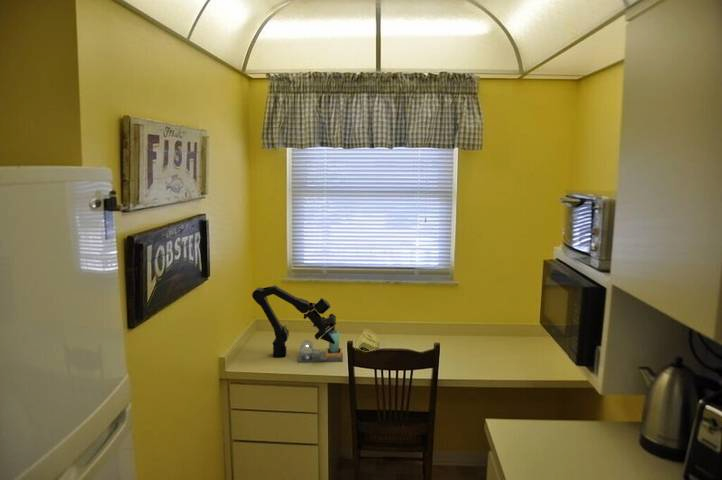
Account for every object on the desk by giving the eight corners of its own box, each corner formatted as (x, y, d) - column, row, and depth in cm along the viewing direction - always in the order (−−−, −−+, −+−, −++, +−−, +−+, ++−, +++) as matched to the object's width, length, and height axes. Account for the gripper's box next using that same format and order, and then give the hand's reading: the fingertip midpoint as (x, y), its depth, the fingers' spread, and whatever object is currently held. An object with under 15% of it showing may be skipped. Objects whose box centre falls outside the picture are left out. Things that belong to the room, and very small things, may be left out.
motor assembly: (298, 362, 267) (298, 346, 266) (299, 355, 278) (299, 339, 277) (342, 361, 268) (342, 346, 267) (342, 354, 279) (342, 339, 278)
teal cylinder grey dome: (328, 355, 271) (328, 332, 269) (329, 351, 276) (329, 329, 274) (338, 355, 271) (338, 332, 269) (338, 351, 276) (338, 329, 274)
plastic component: (377, 348, 282) (360, 340, 282) (371, 359, 284) (355, 351, 283) (378, 334, 301) (363, 327, 301) (373, 345, 303) (358, 337, 303)
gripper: (320, 314, 263) (340, 337, 261) (333, 305, 280) (352, 327, 278) (306, 328, 266) (326, 351, 264) (319, 318, 284) (338, 340, 282)
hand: (336, 341), depth 272 cm, fingers closed on teal cylinder grey dome, 5 cm apart
